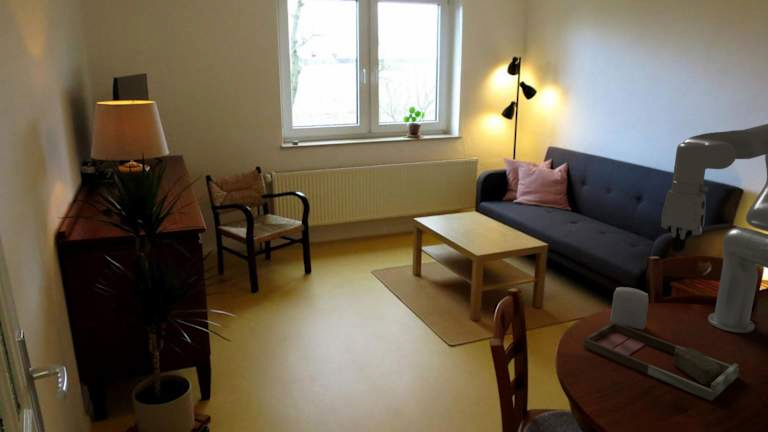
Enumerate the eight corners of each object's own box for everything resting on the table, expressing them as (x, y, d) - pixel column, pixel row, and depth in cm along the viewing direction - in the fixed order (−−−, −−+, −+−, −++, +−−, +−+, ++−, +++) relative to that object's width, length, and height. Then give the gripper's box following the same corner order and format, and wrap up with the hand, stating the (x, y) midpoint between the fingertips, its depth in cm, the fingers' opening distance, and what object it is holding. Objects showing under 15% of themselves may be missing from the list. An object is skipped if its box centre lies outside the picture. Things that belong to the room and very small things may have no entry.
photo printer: (645, 325, 177) (650, 289, 174) (644, 331, 174) (648, 294, 170) (611, 318, 183) (615, 283, 179) (609, 323, 179) (613, 287, 176)
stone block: (704, 388, 144) (707, 370, 143) (670, 365, 155) (672, 348, 154) (723, 384, 146) (726, 366, 144) (687, 361, 157) (690, 345, 155)
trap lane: (612, 329, 175) (613, 317, 174) (737, 376, 149) (740, 363, 148) (582, 346, 165) (583, 334, 164) (711, 401, 139) (713, 386, 137)
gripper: (721, 190, 150) (711, 254, 155) (665, 181, 161) (657, 241, 167) (710, 194, 146) (699, 260, 151) (653, 185, 157) (645, 247, 162)
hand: (677, 250), depth 159 cm, fingers closed
